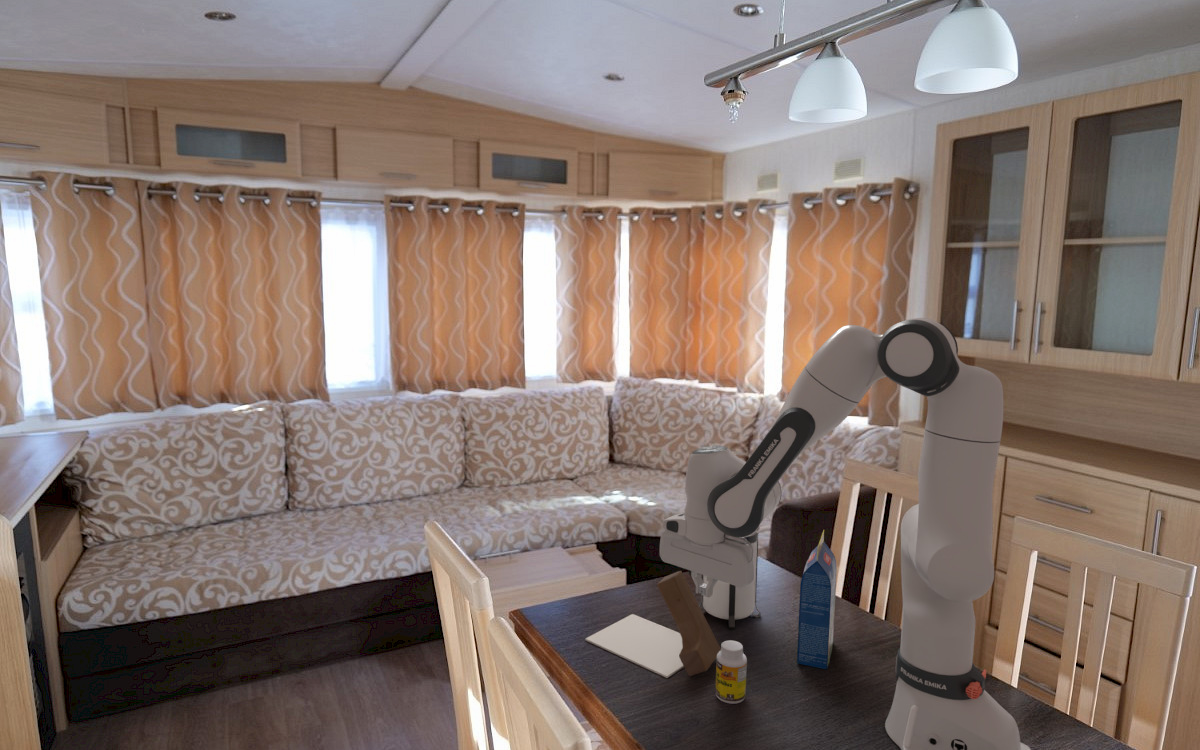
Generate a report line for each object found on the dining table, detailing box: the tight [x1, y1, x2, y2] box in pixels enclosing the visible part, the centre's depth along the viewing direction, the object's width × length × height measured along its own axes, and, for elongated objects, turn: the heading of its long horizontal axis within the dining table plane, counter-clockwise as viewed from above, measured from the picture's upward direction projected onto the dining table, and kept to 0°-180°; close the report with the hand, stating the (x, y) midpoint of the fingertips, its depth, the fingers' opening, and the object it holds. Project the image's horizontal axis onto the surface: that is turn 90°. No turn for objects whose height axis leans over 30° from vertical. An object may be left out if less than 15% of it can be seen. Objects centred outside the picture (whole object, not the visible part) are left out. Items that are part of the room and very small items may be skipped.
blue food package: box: [796, 529, 838, 670], centre depth 148 cm, size 6×12×25 cm, turn 157°
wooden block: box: [656, 570, 721, 677], centre depth 144 cm, size 9×4×18 cm
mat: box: [584, 613, 684, 679], centre depth 153 cm, size 22×16×1 cm
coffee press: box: [687, 525, 762, 631], centre depth 166 cm, size 17×16×30 cm
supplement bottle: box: [715, 639, 748, 705], centre depth 133 cm, size 6×6×10 cm
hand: (704, 594), depth 142 cm, fingers closed
